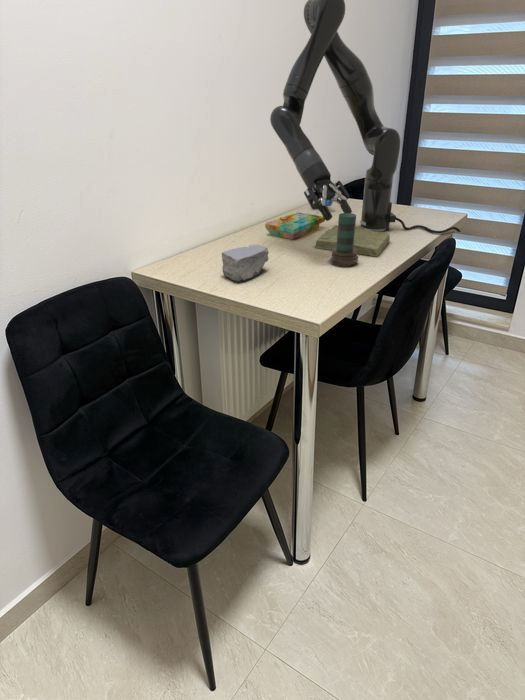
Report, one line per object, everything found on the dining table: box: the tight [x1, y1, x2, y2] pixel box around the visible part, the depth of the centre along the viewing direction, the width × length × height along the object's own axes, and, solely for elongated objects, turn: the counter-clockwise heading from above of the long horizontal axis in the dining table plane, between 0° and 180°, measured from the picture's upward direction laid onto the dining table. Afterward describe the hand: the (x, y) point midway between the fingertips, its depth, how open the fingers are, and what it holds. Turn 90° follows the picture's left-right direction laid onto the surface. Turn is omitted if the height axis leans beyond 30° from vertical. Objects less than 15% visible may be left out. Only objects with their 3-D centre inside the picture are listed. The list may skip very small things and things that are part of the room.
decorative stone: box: [221, 244, 269, 283], centre depth 141 cm, size 15×7×10 cm
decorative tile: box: [315, 225, 391, 257], centre depth 166 cm, size 19×20×4 cm
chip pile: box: [329, 247, 359, 268], centre depth 150 cm, size 8×8×4 cm
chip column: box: [336, 212, 357, 252], centre depth 147 cm, size 5×5×10 cm
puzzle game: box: [264, 211, 326, 240], centre depth 179 cm, size 12×5×20 cm
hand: (339, 216), depth 147 cm, fingers open, 8 cm apart
